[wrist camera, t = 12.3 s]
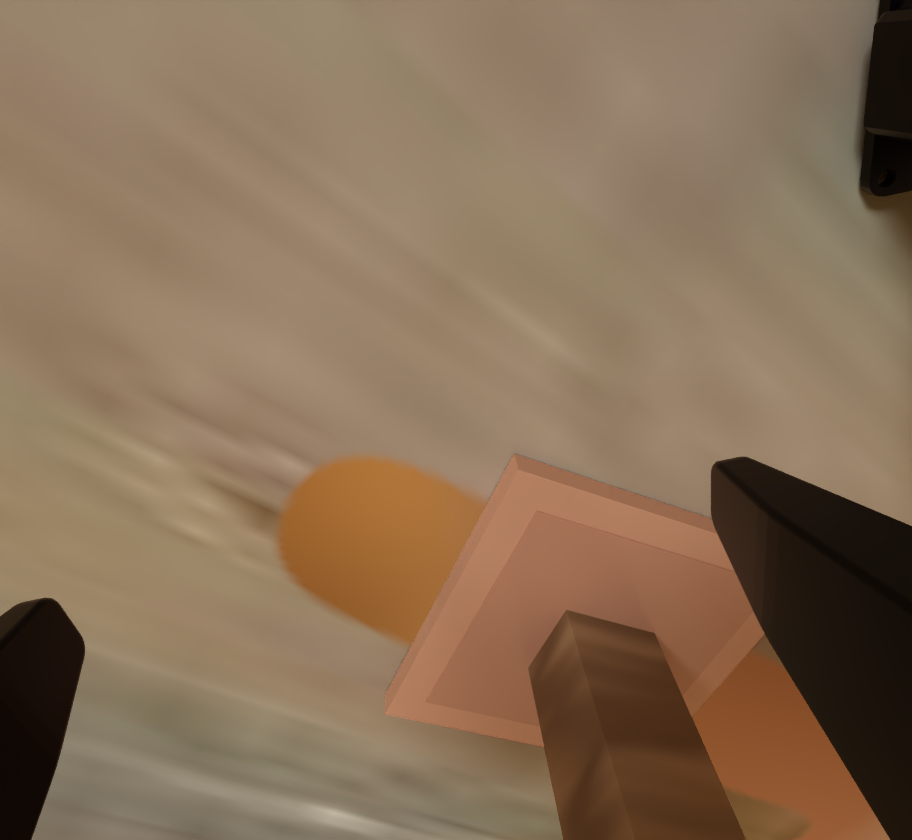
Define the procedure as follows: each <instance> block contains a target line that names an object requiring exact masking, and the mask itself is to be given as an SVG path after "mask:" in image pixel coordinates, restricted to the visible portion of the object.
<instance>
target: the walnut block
mask: <svg viewBox="0 0 912 840" xmlns="http://www.w3.org/2000/svg"><path fill="white" fill-rule="evenodd" d="M528 671H529V676H530V681H531V685H532V690H533V695H534V700H535V705H536V709H537V714H538V719H539V724H540V729H541V734H542V738H543V743H544V748H545V753H546V758H547V762H548V767H549V772H550V777H551V782H552V787H553V791H554V796H555V801H556V806H557V811H558V816H559V820H560V825H561V830H562V835H563V840H746V839H745V837H744V834H743V832H742V830H741V828H740V825H739V823H738V821H737V819H736V816H735V814H734V812H733V809H732V807H731V805H730V803H729V800H728V798H727V796H726V794H725V791H724V789H723V787H722V785H721V782H720V780H719V778H718V776H717V773H716V771H715V769H714V766H713V764H712V762H711V760H710V758H709V755H708V753H707V751H706V748H705V746H704V744H703V742H702V739H701V737H700V735H699V733H698V730H697V728H696V726H695V724H694V722H693V719H692V717H691V714H690V712H689V710H688V708H687V705H686V703H685V701H684V699H683V696H682V694H681V692H680V690H679V687H678V685H677V683H676V681H675V678H674V676H673V674H672V672H671V669H670V667H669V665H668V662H667V660H666V658H665V656H664V653H663V651H662V649H661V647H660V644H659V642H658V640H657V638H656V635H655V633H652V632H649V631H645V630H641V629H637V628H633V627H630V626H626V625H622V624H618V623H615V622H611V621H607V620H603V619H599V618H596V617H592V616H588V615H584V614H580V613H577V612H573V611H569V610H566V611H565V612H564V614H563V615H562V617H561V618H560V620H559V622H558V623H557V625H556V626H555V628H554V629H553V631H552V632H551V634H550V635H549V637H548V638H547V640H546V641H545V643H544V644H543V646H542V647H541V649H540V650H539V652H538V654H537V655H536V657H535V658H534V660H533V661H532V663H531V664H530V666H529V667H528Z"/></svg>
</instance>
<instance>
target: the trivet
mask: <svg viewBox="0 0 912 840" xmlns="http://www.w3.org/2000/svg"><path fill="white" fill-rule="evenodd" d="M566 610H569V611H573V612H577V613H580V614H584V615H588V616H592V617H596V618H599V619H603V620H607V621H611V622H615V623H618V624H622V625H626V626H630V627H633V628H637V629H641V630H645V631H649V632H652V633H655V635H656V638H657V640H658V642H659V644H660V647H661V649H662V651H663V653H664V656H665V658H666V660H667V662H668V665H669V667H670V669H671V672H672V674H673V676H674V678H675V681H676V683H677V685H678V687H679V690H680V692H681V694H682V696H683V699H684V701H685V703H686V705H687V708H688V710H689V712H690V714H691V717H693V716H694V715H695V713H696V712H697V711H698V710H699V709H700V708H701V707H702V705H703V704H704V703H705V702H706V701H707V700H708V698H709V697H710V696H711V695H712V694H713V693H714V692H715V690H716V689H717V688H718V687H719V686H720V685H721V684H722V682H723V681H724V680H725V679H726V678H727V677H728V676H729V674H730V673H731V672H732V671H733V670H734V669H735V668H736V666H737V665H738V664H739V663H740V662H741V661H742V659H743V658H744V657H745V656H746V655H747V654H748V653H749V651H750V650H751V649H752V648H753V647H754V646H755V645H756V643H757V642H758V641H759V640H760V639H761V638H762V636H763V635H764V634H765V633H764V632H763V630H762V628H761V626H760V624H759V622H758V620H757V618H756V616H755V614H754V612H753V610H752V608H751V605H750V603H749V601H748V599H747V597H746V595H745V592H744V590H743V588H742V586H741V584H740V582H739V580H738V577H737V575H736V573H735V571H734V569H733V567H732V564H731V562H730V560H729V558H728V556H727V554H726V552H725V549H724V547H723V545H722V543H721V541H720V539H719V536H718V534H717V532H716V530H715V527H714V524H713V521H712V519H710V518H707V517H704V516H701V515H698V514H695V513H692V512H689V511H686V510H683V509H680V508H677V507H674V506H671V505H668V504H665V503H662V502H659V501H656V500H653V499H650V498H647V497H644V496H641V495H638V494H634V493H631V492H628V491H625V490H622V489H619V488H616V487H613V486H610V485H607V484H604V483H601V482H598V481H595V480H592V479H589V478H586V477H583V476H580V475H577V474H574V473H571V472H568V471H565V470H562V469H559V468H556V467H553V466H550V465H546V464H543V463H540V462H537V461H534V460H531V459H528V458H525V457H522V456H519V455H516V454H514V455H513V457H512V459H511V460H510V462H509V464H508V466H507V468H506V470H505V472H504V474H503V475H502V477H501V479H500V481H499V483H498V485H497V487H496V488H495V490H494V492H493V494H492V496H491V498H490V500H489V502H488V503H487V505H486V507H485V509H484V511H483V513H482V515H481V517H480V519H479V520H478V522H477V524H476V526H475V528H474V530H473V532H472V533H471V535H470V537H469V539H468V541H467V543H466V545H465V547H464V549H463V550H462V552H461V554H460V556H459V558H458V560H457V561H456V563H455V565H454V567H453V569H452V571H451V573H450V575H449V576H448V578H447V580H446V582H445V584H444V586H443V588H442V590H441V591H440V593H439V595H438V597H437V599H436V601H435V603H434V605H433V606H432V608H431V610H430V612H429V614H428V616H427V617H426V619H425V621H424V623H423V625H422V627H421V629H420V631H419V632H418V634H417V636H416V638H415V640H414V642H413V644H412V645H411V647H410V649H409V651H408V653H407V655H406V657H405V658H404V660H403V662H402V664H401V666H400V668H399V670H398V672H397V673H396V675H395V677H394V679H393V681H392V683H391V685H390V687H389V688H388V690H387V692H386V698H385V714H386V715H391V716H396V717H401V718H406V719H411V720H415V721H420V722H425V723H430V724H435V725H440V726H445V727H449V728H454V729H459V730H464V731H469V732H474V733H478V734H483V735H488V736H493V737H498V738H503V739H508V740H512V741H517V742H522V743H527V744H532V745H537V746H541V747H544V743H543V738H542V734H541V729H540V724H539V719H538V714H537V709H536V705H535V700H534V695H533V690H532V685H531V681H530V676H529V671H528V667H529V666H530V664H531V663H532V661H533V660H534V658H535V657H536V655H537V654H538V652H539V650H540V649H541V647H542V646H543V644H544V643H545V641H546V640H547V638H548V637H549V635H550V634H551V632H552V631H553V629H554V628H555V626H556V625H557V623H558V622H559V620H560V618H561V617H562V615H563V614H564V612H565V611H566Z"/></svg>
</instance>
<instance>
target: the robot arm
mask: <svg viewBox="0 0 912 840" xmlns="http://www.w3.org/2000/svg"><path fill="white" fill-rule="evenodd" d="M864 126H865V128H866V133H865V142H864V151H863V160H862V169H861V178H860V181H861V187H862V189H863V190H864V191H865V192H867V193H868V194H871V195H875V196H888V195H893V194H898V193H902V192H907V191H912V0H880V7H879V16H878V21H877V23H876V24H875V26H874V34H873V43H872V52H871V61H870V70H869V80H868V89H867V98H866V107H865V116H864ZM884 170H886V171H887V175H886V178H885V180H884V181H883V182H882V183H880V184H878V178H879V175H880V174H881V173H882V172H883V171H884ZM711 516H712V521H713V524H714V527H715V530H716V532H717V534H718V536H719V539H720V541H721V543H722V545H723V547H724V549H725V552H726V554H727V556H728V558H729V560H730V562H731V564H732V567H733V569H734V571H735V573H736V575H737V577H738V580H739V582H740V584H741V586H742V588H743V590H744V592H745V595H746V597H747V599H748V601H749V603H750V605H751V608H752V610H753V612H754V614H755V616H756V618H757V620H758V622H759V624H760V626H761V628H762V630H763V632H764V633H765V635H766V637H767V638H768V640H769V642H770V644H771V645H772V647H773V649H774V650H775V652H776V654H777V655H778V657H779V658H780V660H781V662H782V663H783V665H784V667H785V668H786V670H787V672H788V673H789V675H790V676H791V678H792V680H793V681H794V683H795V685H796V686H797V688H798V689H799V691H800V693H801V694H802V696H803V698H804V699H805V701H806V702H807V704H808V705H809V707H810V709H811V711H812V712H813V714H814V716H815V717H816V719H817V720H818V722H819V724H820V725H821V727H822V729H823V730H824V732H825V734H826V735H827V737H828V738H829V740H830V742H831V743H832V745H833V747H834V748H835V750H836V751H837V753H838V755H839V756H840V758H841V760H842V761H843V763H844V765H845V766H846V768H847V769H848V771H849V772H850V774H851V776H852V778H853V779H854V781H855V782H856V784H857V786H858V787H859V789H860V791H861V792H862V794H863V796H864V797H865V799H866V800H867V802H868V804H869V805H870V807H871V808H872V810H873V812H874V813H875V815H876V817H877V818H878V820H879V822H880V823H881V825H882V827H883V828H884V830H885V831H886V833H887V835H888V836H889V838H890V840H912V526H910V525H908V524H905V523H903V522H901V521H898V520H896V519H894V518H891V517H889V516H886V515H884V514H882V513H879V512H877V511H875V510H872V509H870V508H867V507H865V506H863V505H860V504H858V503H855V502H853V501H851V500H848V499H846V498H844V497H841V496H839V495H836V494H834V493H832V492H829V491H827V490H825V489H822V488H820V487H817V486H815V485H813V484H810V483H808V482H805V481H803V480H801V479H798V478H796V477H794V476H791V475H789V474H786V473H784V472H782V471H779V470H777V469H775V468H772V467H770V466H767V465H765V464H763V463H760V462H758V461H756V460H753V459H751V458H748V457H736V458H732V459H727V460H722V461H718V462H716V463H715V464H714V465H713V466H712V470H711ZM84 656H85V645H84V641H83V638H82V636H81V634H80V633H79V631H78V630H77V629H76V627H75V626H74V624H73V623H72V621H71V620H70V619H69V617H68V616H67V614H66V613H65V611H64V610H63V608H62V607H61V606H60V604H59V603H58V602H57V601H55V600H54V599H52V598H41V599H36V600H31V601H26V602H22V603H19V604H17V605H15V606H14V607H12V608H11V609H10V610H8V611H7V612H5V613H4V614H3V615H1V616H0V840H31V839H32V836H33V833H34V831H35V828H36V825H37V822H38V819H39V816H40V814H41V811H42V808H43V805H44V802H45V799H46V796H47V794H48V791H49V788H50V785H51V782H52V779H53V776H54V773H55V770H56V767H57V763H58V760H59V756H60V753H61V749H62V745H63V741H64V737H65V733H66V729H67V725H68V721H69V717H70V713H71V709H72V705H73V701H74V697H75V693H76V689H77V685H78V681H79V677H80V672H81V668H82V664H83V660H84Z"/></svg>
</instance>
